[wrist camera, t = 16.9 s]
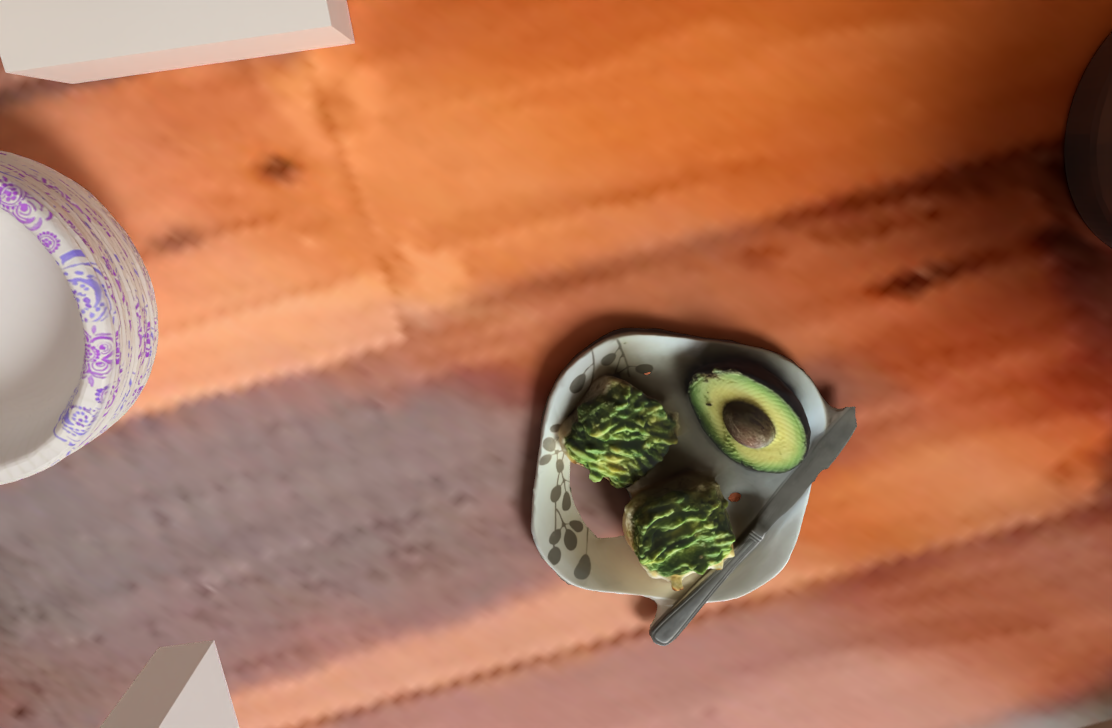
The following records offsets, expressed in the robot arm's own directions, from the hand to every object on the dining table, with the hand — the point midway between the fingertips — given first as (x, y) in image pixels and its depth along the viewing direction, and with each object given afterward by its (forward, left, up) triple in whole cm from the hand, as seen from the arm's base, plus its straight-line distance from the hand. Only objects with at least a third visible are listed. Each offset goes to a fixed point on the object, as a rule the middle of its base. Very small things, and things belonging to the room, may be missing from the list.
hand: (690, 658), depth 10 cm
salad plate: (-6, +11, -32) cm, 34 cm away
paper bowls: (+27, -4, -31) cm, 42 cm away
